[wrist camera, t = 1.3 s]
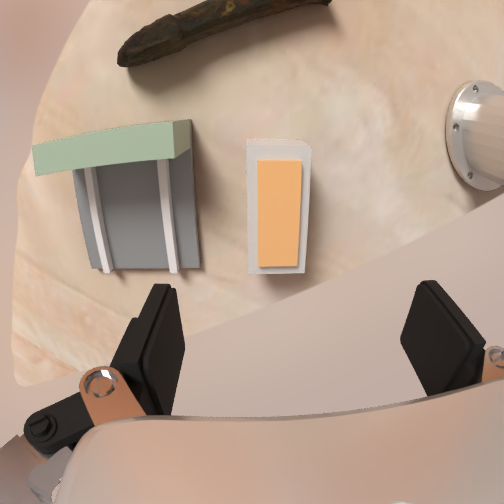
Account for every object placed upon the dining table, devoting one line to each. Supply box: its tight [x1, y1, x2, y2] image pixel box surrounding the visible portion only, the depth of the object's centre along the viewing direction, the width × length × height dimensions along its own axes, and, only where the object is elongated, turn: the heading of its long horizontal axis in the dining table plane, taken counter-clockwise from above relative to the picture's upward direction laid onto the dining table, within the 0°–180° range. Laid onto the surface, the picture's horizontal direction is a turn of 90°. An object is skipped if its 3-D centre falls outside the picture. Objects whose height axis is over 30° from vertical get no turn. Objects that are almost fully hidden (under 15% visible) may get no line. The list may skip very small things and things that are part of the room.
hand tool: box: [117, 0, 332, 67], centre depth 18 cm, size 19×4×5 cm, turn 111°
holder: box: [246, 139, 311, 274], centre depth 25 cm, size 4×10×7 cm, turn 1°
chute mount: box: [32, 119, 201, 273], centre depth 24 cm, size 12×14×7 cm
